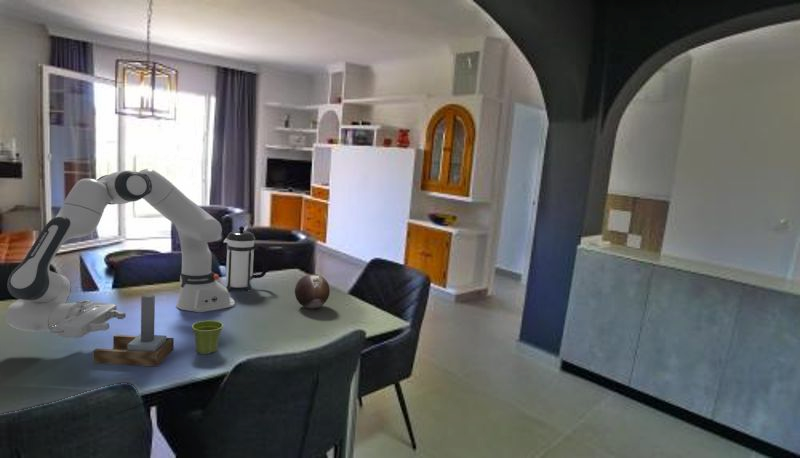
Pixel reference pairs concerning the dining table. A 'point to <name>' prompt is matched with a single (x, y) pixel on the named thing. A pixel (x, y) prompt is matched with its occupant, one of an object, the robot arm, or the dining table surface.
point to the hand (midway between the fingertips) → (116, 321)
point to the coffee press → (242, 259)
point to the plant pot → (207, 335)
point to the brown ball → (312, 291)
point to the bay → (132, 353)
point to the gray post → (147, 328)
